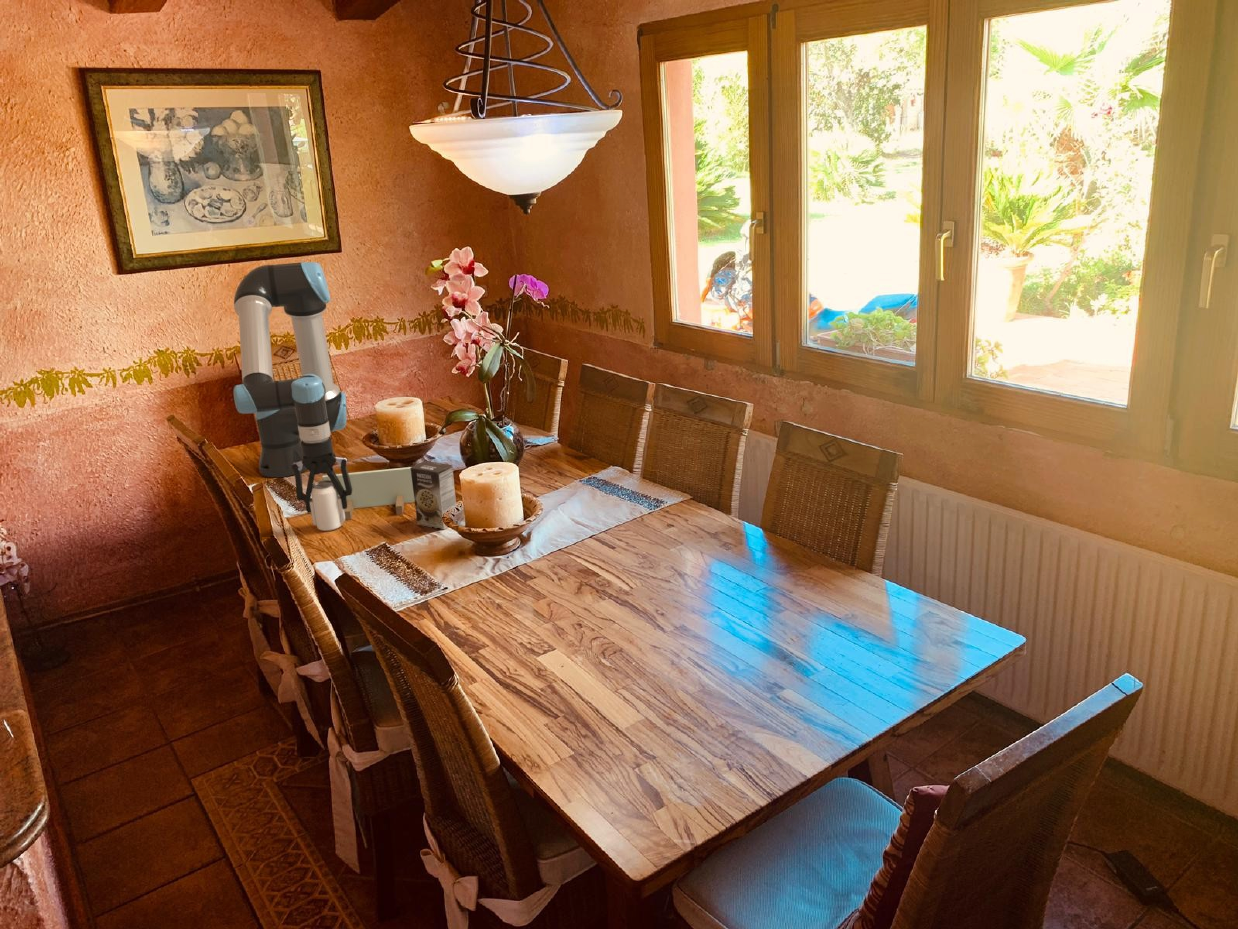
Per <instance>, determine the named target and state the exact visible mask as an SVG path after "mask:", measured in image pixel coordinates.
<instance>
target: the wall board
mask: <svg viewBox="0 0 1238 929" xmlns="http://www.w3.org/2000/svg"><path fill="white" fill-rule="evenodd" d="M411 467H412V466H408V467H399V468H388V469H387V468H386V469H378V470H377V469H376V470H367V471H366V470H365V471H356V472H348V474H349V478H350V482H351V486H352V494H351V495H348V496H346V499H347V508H346V509H344V513H345V521H351V520H352V518H353V515H354V514H353V513H354V509H362V508H370V507H380V506H391V505H395V512H396V516H401V515H404V506H405V504H411V503H415V500H414V492H413V484H412V476H411V469H410V468H411ZM335 474H336V476H337V477H338V479H339V481H340V483H341V485H342V486H343V488H344V490H346V488H345V484H344V480H343V476H342V473H335ZM324 480H330V478H329V477H328V475H327V474H325V475H322V478H321V481H324ZM330 481H331V480H330ZM338 496H339V494H338Z"/></svg>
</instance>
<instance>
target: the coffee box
mask: <svg viewBox="0 0 1238 929" xmlns="http://www.w3.org/2000/svg"><path fill="white" fill-rule="evenodd" d="M410 467H411V468H410V469H411V476H412V484H413V492H414V500H415V502H414V507H415V515H416V521H417V522H416V524H417V525H419V526H425V527H429V528H432V527H434V528H433V529H437V528H441V529H440V530H442V529H445V528H446V529H448V528H449V527H446V526H445V524H444V523H443V520H442V517H443V514H444V513H446V512H447V511H448V510H451V509H453V508H454V507H456V508H457V500H456V499H457V498H456V490H455V480H454V469H453V464H448V463H442V462H436V461H429V460H424V461H422V462H419V463H416V464H415V465H413V466H410ZM446 529H445V530H446Z"/></svg>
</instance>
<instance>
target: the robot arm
mask: <svg viewBox="0 0 1238 929" xmlns="http://www.w3.org/2000/svg"><path fill="white" fill-rule="evenodd" d="M328 286H329V285H328V283H327V279H326V276H325V273H324V270H323V268H322V266H321V265H320V263H319V262H316V261H307V262H306V261H305V262H304V261H300V262H291V263H290V262H289V263H280V264H263V265H260V266H257V267H255V268H254V269H252V270H250V271H249V272H248V273H246V275H245V276H244V277H243V278H242V279H241V281H240V282H239V284H238V286H237V289H236V290H235V294H234V299H233V308H234V311H235V312H234V313H235V314H236V315H237V316H238V322H239V323H238V326H239V345H240V359H241V360H240V361H241V362H240V364H241V378H242V380H241V381H242V383H240V384H236V385H235V386H234V387H233V400H234V404H235V409H236V410H237V412H238V413H239V414H242V415H244V414H255V415H254V418H255V421H256V425H257V430H258V436H259V440H260V441H259V443H260V447H261V451H260V456H259V462H258V463H259V464H258V470H259V474H261V476H263V477H267V478H283V477H284V478H285V477H291V476H294V478H295V480H294V482H295V493H296V499H297V501H303V502H304V503H305V508H306V512H307V513H308V514H309V513H311V514H310V515H311V519H312V524H313V526H317V523H316V517H315V511H314V506H313V500H312V494H311V491H312V486H313V484H314V483H315V481H314V480H315V477H316V475H320V474H323V475H324V474H325V475H328V477H329V478H330V480H331V481H332V483H333V485H334V487H335V488H336V490H337V492H338V494H339V496H338V505H339V511H340V517H341V522H342V523H344V522H345V521H346V520H345V513H344V509H346V508H347V499H346V496H348V495H351V494H352V486H351V482H350V478H349V474H348V473H349V470H348V466H347V463H348V458H347V457H346V456H344V457H337V455H336V454H335V452H334V448H333V442H332V437H331V435H332V432H335V431H341V430H344V429H345V428H346V426H347V397H346V396H347V395H346V392H344V391H341V389H340V386H338V385H337V384H336V383H334V377H333V373H332V366H331V360H330V354H329V347H328V342H327V335H326V331H325V330H326V329H325V322H324V318H323V313H324V312H325V311H326V310H327V304H328V303H330V302H331V295H330V290H329V287H328ZM278 307H279V308H280V307H283V311H284V313H285V314H286V315H287V316H288V317H290V319H291V323H292V324H291V325H292V328H293V329H292V330H293V334H294V340H295V344H296V346H295V347H296V350H297V356H298V361H299V368H300V372H301V376H300V377H298V378H291V379H283V380H281V379H280V380H274V372H273V357H272V344H271V331H270V330H271V329H270V315H271V313H272V310H273V308H278ZM335 463H337V465H338V467H340V472H341V474H342V476H343V480H344V484H345V488H346V490H344V488H343V486H342V485H341V483H340V481H339V479H338V477H337V476H336V474H337V473H336V471H335V469H334V468H333V467H334V465H335ZM307 470H308V471H309V474H308V480H307V485H306V490H305V493H304V489H303V477H302V473H304V472H306V471H307Z"/></svg>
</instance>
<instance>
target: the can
mask: <svg viewBox="0 0 1238 929" xmlns="http://www.w3.org/2000/svg"><path fill="white" fill-rule="evenodd" d="M311 498H312V500H313V506H314V511H315V517H316V523H317V525H316V527H317V529H318V530H320V531H322V532H331V531H335V530H337V529H340V527H342V525H343V522H341V517H340V511H339V505H338V492H337V490H336V488H335V487H334V485H333V483H332V481H330V480H324V481H323V480H319V481H317V482H313V486H312V491H311Z"/></svg>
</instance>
